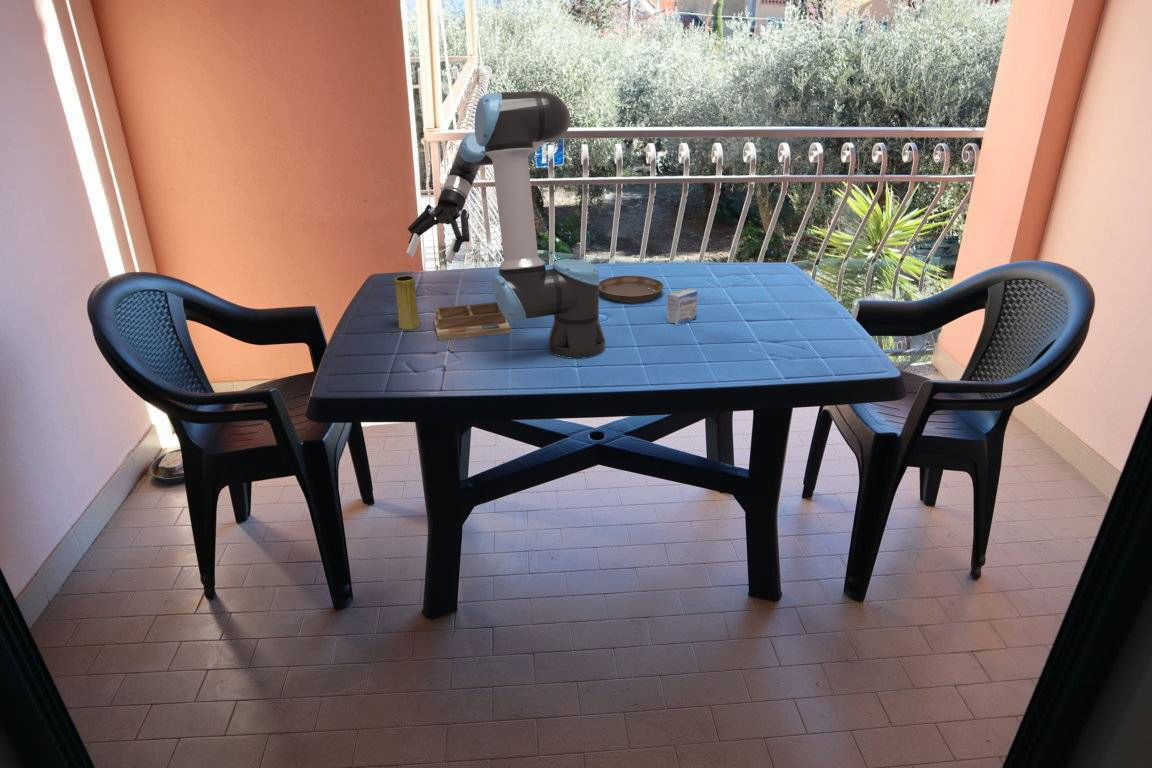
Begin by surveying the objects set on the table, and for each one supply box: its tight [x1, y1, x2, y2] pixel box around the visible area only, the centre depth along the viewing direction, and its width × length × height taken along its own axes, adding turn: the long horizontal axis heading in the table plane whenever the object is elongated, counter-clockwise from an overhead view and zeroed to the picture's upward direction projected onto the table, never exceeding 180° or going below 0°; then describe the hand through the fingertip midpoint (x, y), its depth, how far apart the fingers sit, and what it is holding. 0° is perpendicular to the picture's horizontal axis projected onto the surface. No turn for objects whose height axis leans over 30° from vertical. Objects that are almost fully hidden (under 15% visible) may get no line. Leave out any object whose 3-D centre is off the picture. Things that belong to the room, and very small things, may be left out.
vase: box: [394, 274, 421, 331], centre depth 220 cm, size 6×6×14 cm
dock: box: [433, 301, 512, 341], centre depth 221 cm, size 14×20×4 cm
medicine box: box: [666, 287, 699, 325], centre depth 224 cm, size 8×4×9 cm, turn 129°
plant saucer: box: [599, 275, 665, 303], centre depth 246 cm, size 21×21×3 cm
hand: (428, 258), depth 225 cm, fingers open, 13 cm apart
